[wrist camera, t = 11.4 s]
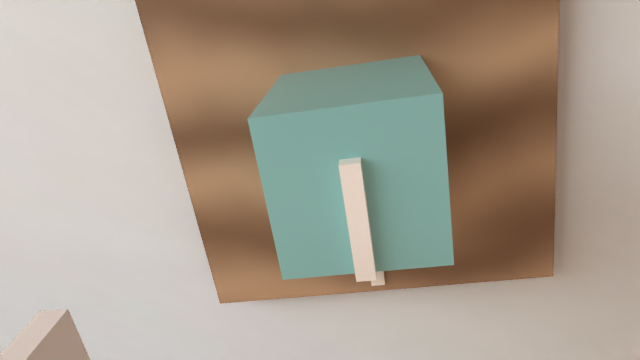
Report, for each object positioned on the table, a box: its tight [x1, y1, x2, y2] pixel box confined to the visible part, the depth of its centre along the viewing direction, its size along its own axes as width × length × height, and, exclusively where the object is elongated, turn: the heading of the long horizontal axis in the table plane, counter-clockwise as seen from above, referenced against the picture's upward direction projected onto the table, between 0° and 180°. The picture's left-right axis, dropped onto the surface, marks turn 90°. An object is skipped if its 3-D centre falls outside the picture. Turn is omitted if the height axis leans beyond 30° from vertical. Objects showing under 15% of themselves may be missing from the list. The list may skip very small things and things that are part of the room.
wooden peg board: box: [135, 0, 559, 303], centre depth 25 cm, size 20×20×7 cm
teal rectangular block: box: [247, 55, 454, 282], centre depth 23 cm, size 7×7×9 cm
